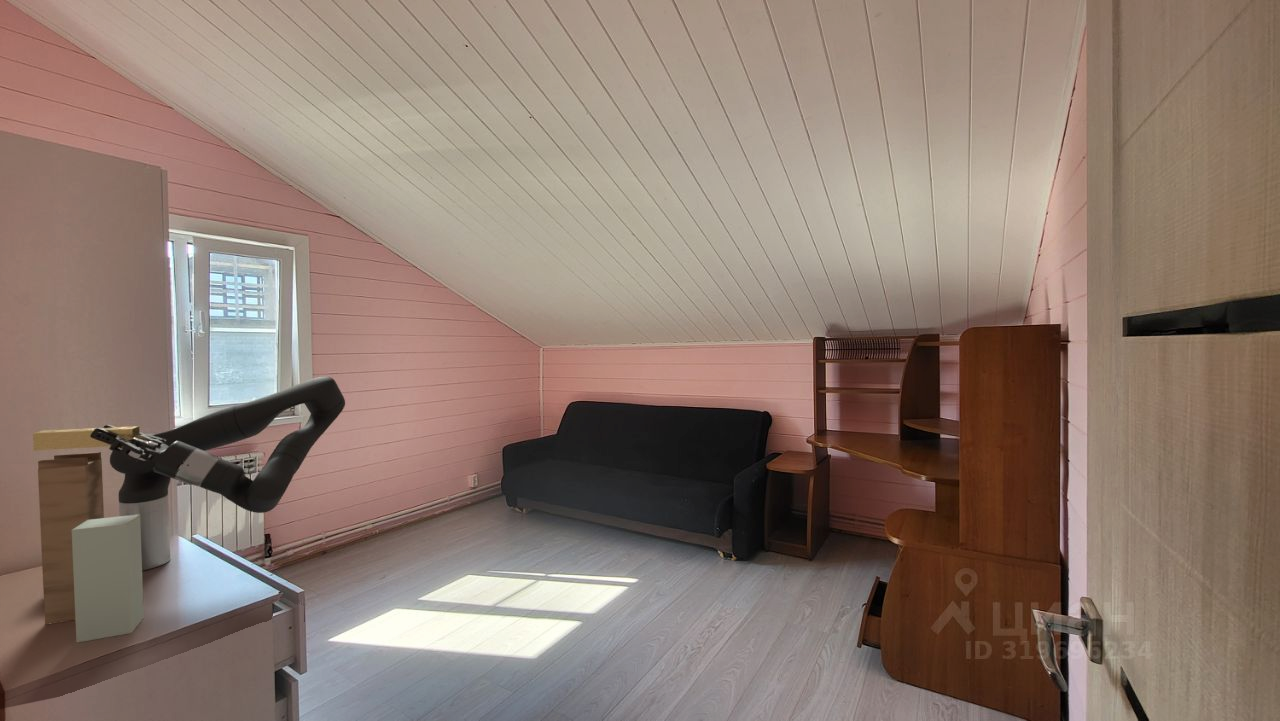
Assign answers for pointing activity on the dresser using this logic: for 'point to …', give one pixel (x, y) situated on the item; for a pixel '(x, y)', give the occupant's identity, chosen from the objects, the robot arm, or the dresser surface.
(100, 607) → the block
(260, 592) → the dresser surface
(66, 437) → the rail
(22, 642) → the dresser surface
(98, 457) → the stand
